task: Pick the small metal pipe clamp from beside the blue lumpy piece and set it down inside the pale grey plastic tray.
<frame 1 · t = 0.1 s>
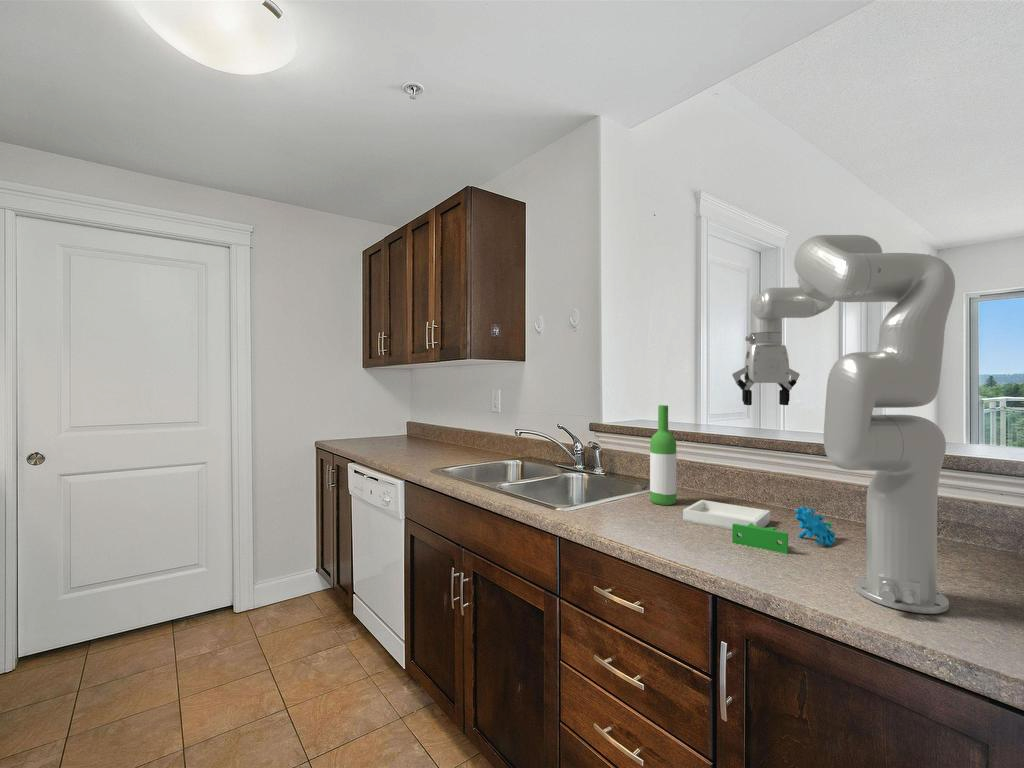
hand: (765, 404, 128), 31 cm above the worktop, tool pointing down, fingers open, 9 cm apart
wine bottle: (663, 503, 149), on the worktop
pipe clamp: (761, 547, 109), on the worktop
blue lumpy piece: (816, 542, 113), on the worktop
tray: (726, 521, 129), on the worktop
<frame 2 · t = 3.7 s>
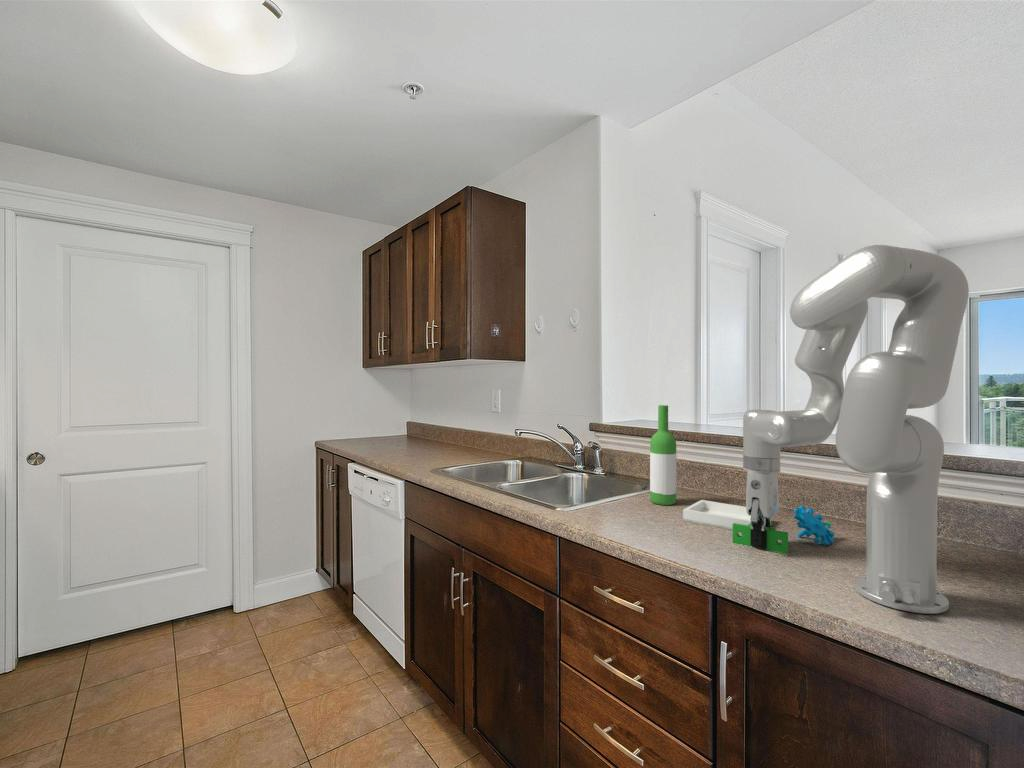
hand: (761, 543, 110), 0 cm above the worktop, tool pointing down, fingers closed on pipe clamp, 3 cm apart
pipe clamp: (761, 547, 109), on the worktop, touching gripper
everything else where it was.
when the fingers open (4 cm above the worktop, at t = 9.4 s): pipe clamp drops 2 cm, resting on tray.
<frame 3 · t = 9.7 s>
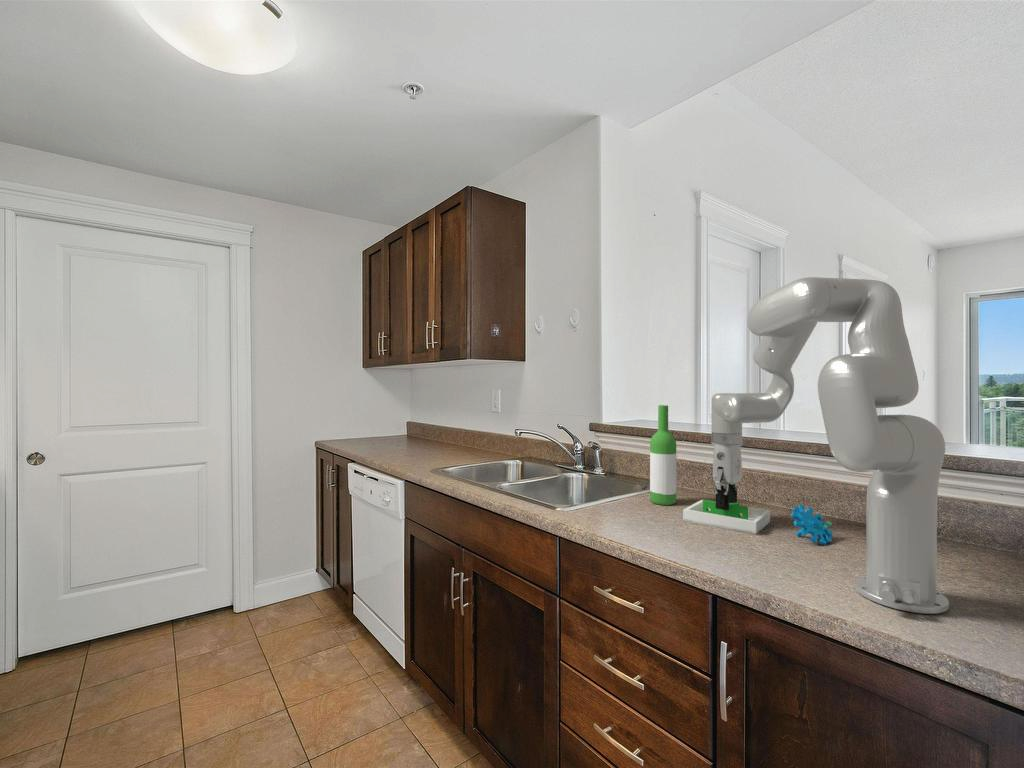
hand: (726, 506, 129), 4 cm above the worktop, tool pointing down, fingers open, 6 cm apart
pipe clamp: (726, 520, 128), resting on tray
everything else where it was.
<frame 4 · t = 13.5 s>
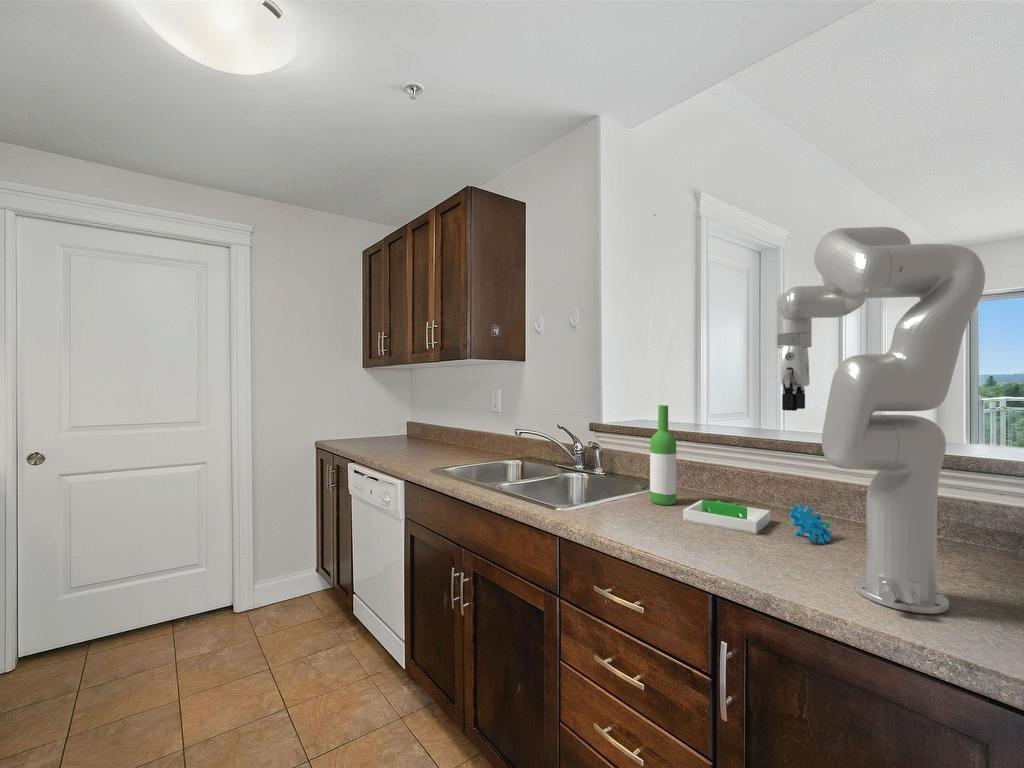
hand: (793, 409, 122), 30 cm above the worktop, tool pointing down, fingers open, 9 cm apart
at the end: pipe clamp inside the target area on the tray (0.9 cm from its centre), point 0.4 cm above the tray's base; the gripper is holding nothing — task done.
